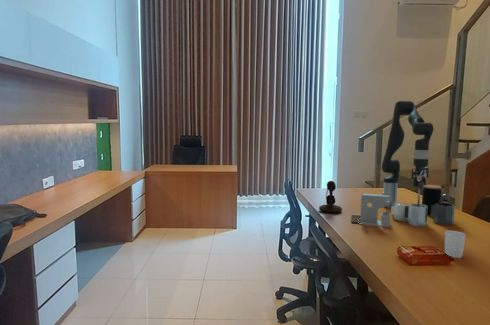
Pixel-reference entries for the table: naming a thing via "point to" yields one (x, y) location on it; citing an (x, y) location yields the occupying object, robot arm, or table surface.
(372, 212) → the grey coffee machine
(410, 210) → the steel press
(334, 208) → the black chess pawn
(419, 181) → the plunger
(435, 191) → the coffee jar
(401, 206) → the mug
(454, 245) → the white cup
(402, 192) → the table surface
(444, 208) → the black press
